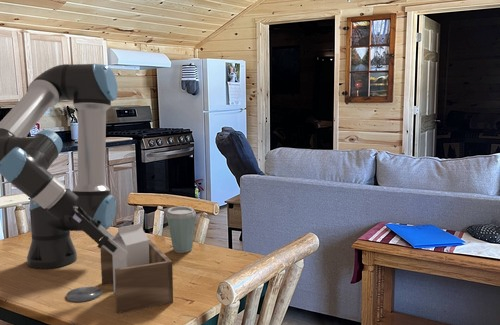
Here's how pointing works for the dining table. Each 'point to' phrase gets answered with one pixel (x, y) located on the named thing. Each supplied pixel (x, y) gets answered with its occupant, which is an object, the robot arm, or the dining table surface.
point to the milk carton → (131, 247)
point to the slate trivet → (83, 294)
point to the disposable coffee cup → (181, 227)
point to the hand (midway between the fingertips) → (119, 249)
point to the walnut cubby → (140, 281)
